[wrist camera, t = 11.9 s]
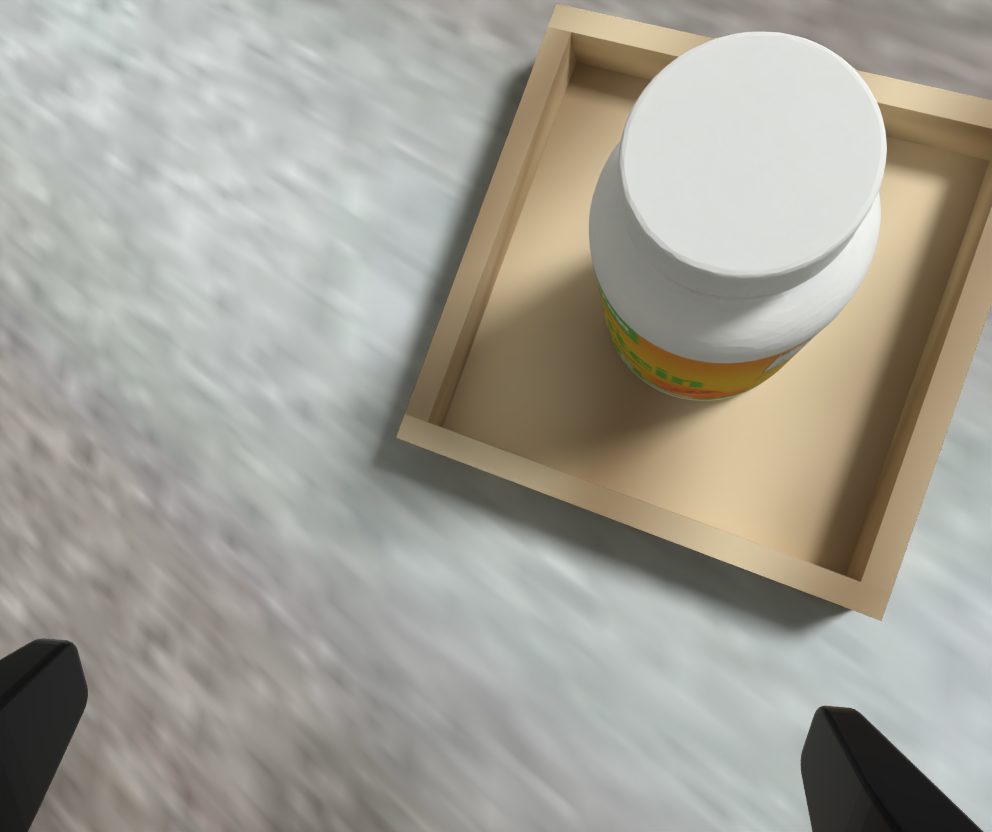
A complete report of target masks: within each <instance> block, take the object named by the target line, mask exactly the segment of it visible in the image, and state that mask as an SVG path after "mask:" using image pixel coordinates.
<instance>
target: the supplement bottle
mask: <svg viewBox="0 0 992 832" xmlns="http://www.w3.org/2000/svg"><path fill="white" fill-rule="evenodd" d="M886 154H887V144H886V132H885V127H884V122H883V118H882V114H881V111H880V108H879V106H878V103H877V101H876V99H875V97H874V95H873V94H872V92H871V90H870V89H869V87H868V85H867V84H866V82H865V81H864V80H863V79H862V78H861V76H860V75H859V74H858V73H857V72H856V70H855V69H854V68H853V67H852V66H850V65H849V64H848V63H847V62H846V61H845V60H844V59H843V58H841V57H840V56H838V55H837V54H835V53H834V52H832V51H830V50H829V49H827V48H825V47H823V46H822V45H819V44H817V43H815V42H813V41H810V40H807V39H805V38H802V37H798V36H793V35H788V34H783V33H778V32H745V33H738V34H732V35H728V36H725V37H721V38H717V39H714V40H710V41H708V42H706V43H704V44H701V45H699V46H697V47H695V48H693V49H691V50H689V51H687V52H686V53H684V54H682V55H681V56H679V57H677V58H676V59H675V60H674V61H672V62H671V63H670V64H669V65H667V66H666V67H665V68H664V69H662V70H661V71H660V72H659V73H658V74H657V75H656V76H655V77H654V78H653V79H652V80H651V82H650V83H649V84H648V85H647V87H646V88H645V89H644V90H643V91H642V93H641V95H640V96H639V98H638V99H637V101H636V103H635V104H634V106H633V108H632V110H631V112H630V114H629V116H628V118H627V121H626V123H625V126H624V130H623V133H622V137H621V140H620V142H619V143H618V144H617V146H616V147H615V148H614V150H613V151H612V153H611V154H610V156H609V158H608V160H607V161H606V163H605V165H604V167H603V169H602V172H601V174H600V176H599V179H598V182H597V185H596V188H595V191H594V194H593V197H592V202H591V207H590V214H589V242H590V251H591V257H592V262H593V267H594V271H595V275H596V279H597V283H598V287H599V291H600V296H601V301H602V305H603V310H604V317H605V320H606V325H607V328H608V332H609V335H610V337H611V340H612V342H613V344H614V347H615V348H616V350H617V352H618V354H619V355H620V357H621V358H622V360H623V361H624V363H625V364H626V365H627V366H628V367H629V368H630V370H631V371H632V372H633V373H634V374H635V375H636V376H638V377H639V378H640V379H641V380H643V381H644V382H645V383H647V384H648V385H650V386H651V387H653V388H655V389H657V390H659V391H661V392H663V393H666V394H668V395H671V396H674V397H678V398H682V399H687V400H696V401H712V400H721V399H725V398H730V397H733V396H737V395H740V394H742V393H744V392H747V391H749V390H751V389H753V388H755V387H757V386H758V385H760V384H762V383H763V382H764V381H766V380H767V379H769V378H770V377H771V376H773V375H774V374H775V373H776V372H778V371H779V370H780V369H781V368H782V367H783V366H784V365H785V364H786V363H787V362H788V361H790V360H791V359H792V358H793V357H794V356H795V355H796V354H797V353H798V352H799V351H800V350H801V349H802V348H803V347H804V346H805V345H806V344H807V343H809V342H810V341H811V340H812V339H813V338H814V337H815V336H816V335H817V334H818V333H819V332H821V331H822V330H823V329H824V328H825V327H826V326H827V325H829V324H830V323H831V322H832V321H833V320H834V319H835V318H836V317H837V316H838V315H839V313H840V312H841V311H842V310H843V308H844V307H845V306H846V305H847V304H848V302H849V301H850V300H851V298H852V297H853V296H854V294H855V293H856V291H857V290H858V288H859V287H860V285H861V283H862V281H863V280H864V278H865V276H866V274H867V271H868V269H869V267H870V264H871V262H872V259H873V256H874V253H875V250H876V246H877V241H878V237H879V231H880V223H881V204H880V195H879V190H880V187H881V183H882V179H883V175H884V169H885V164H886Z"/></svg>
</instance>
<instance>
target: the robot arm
mask: <svg viewBox="0 0 992 832" xmlns="http://www.w3.org/2000/svg"><path fill="white" fill-rule="evenodd" d="M87 698H88V688H87V684H86V680H85V676H84V672H83V669H82V665H81V661H80V657H79V654H78V650H77V647H76V646H75V645H74V644H73V643H72V642H70V641H68V640H56V639H44V638H43V639H37V640H34V641H32V642H30V643H28V644H27V645H25V646H23V647H21V648H20V649H18V650H16V651H14V652H13V653H11V654H9V655H8V656H6V657H4V658H2V659H1V660H0V832H28V830H29V828H30V826H31V824H32V822H33V820H34V818H35V816H36V814H37V812H38V810H39V808H40V806H41V803H42V801H43V799H44V797H45V795H46V792H47V790H48V788H49V786H50V784H51V782H52V779H53V777H54V775H55V773H56V771H57V768H58V766H59V764H60V762H61V760H62V758H63V755H64V753H65V751H66V749H67V747H68V745H69V742H70V740H71V738H72V736H73V734H74V731H75V729H76V727H77V725H78V723H79V721H80V718H81V716H82V714H83V712H84V709H85V707H86V703H87ZM801 774H802V779H803V784H804V790H805V795H806V800H807V805H808V811H809V816H810V821H811V826H812V831H813V832H983V831H982V830H981V829H980V828H979V827H978V826H977V825H976V824H975V823H974V822H973V821H972V820H971V819H970V818H969V817H968V816H967V815H966V814H965V813H964V812H963V811H962V810H960V809H959V808H958V807H957V806H956V805H955V804H954V803H953V802H952V801H951V800H950V799H949V798H948V797H947V796H946V795H945V794H944V793H943V792H942V791H941V790H940V789H939V788H938V787H937V786H936V785H935V784H934V783H932V782H931V781H930V780H929V779H928V778H927V777H926V776H925V775H924V774H923V773H922V772H921V771H920V770H919V769H918V768H917V767H916V766H915V765H914V764H913V763H912V762H911V761H910V760H909V759H908V758H907V757H906V756H904V755H903V754H902V753H901V752H900V751H899V750H898V749H897V748H896V747H895V746H894V745H893V744H892V743H891V742H890V741H889V740H888V739H887V738H886V737H885V736H884V735H883V734H882V733H881V732H880V731H879V730H878V729H877V728H875V727H874V726H873V725H872V724H871V723H870V722H869V721H868V720H867V719H866V718H865V717H864V716H863V715H862V714H861V713H860V712H858V711H856V710H855V709H852V708H845V707H833V706H821V707H819V708H818V709H817V710H816V712H815V714H814V717H813V720H812V723H811V726H810V729H809V732H808V735H807V738H806V741H805V744H804V747H803V750H802V754H801Z"/></svg>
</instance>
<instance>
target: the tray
mask: <svg viewBox="0 0 992 832" xmlns="http://www.w3.org/2000/svg"><path fill="white" fill-rule="evenodd" d="M710 40H714V39H713V38H709V37H704V36H700V35H695V34H691V33H686V32H682V31H677V30H673V29H668V28H664V27H659V26H655V25H650V24H646V23H641V22H637V21H632V20H628V19H623V18H619V17H614V16H610V15H605V14H601V13H596V12H592V11H587V10H583V9H578V8H574V7H569V6H565V5H560V4H556V7H555V9H554V12H553V15H552V17H551V20H550V23H549V25H548V28H547V31H546V34H545V36H544V39H543V42H542V44H541V47H540V50H539V53H538V55H537V58H536V61H535V63H534V66H533V69H532V71H531V74H530V77H529V80H528V82H527V85H526V88H525V90H524V93H523V96H522V98H521V101H520V104H519V107H518V109H517V112H516V115H515V117H514V120H513V123H512V125H511V128H510V131H509V134H508V136H507V139H506V142H505V144H504V147H503V150H502V153H501V155H500V158H499V161H498V163H497V166H496V169H495V171H494V174H493V177H492V180H491V182H490V185H489V188H488V190H487V193H486V196H485V198H484V201H483V204H482V207H481V209H480V212H479V215H478V217H477V220H476V223H475V225H474V228H473V231H472V234H471V236H470V239H469V242H468V244H467V247H466V250H465V253H464V255H463V258H462V261H461V263H460V266H459V269H458V271H457V274H456V277H455V280H454V282H453V285H452V288H451V290H450V293H449V296H448V298H447V301H446V304H445V307H444V309H443V312H442V315H441V317H440V320H439V323H438V325H437V328H436V331H435V334H434V336H433V339H432V342H431V344H430V347H429V350H428V353H427V355H426V358H425V361H424V363H423V366H422V369H421V371H420V374H419V377H418V380H417V382H416V385H415V388H414V390H413V393H412V396H411V398H410V401H409V404H408V407H407V409H406V412H405V415H404V417H403V420H402V423H401V425H400V428H399V431H398V434H397V436H396V438H398V439H401V440H403V441H406V442H409V443H411V444H414V445H417V446H419V447H422V448H425V449H427V450H430V451H433V452H435V453H438V454H440V455H443V456H446V457H448V458H451V459H454V460H456V461H459V462H462V463H464V464H467V465H470V466H472V467H475V468H478V469H480V470H483V471H486V472H488V473H491V474H493V475H496V476H499V477H501V478H504V479H507V480H509V481H512V482H515V483H517V484H520V485H523V486H525V487H528V488H531V489H533V490H536V491H539V492H541V493H544V494H546V495H549V496H552V497H554V498H557V499H560V500H562V501H565V502H568V503H570V504H573V505H576V506H578V507H581V508H584V509H586V510H589V511H592V512H594V513H597V514H599V515H602V516H605V517H607V518H610V519H613V520H615V521H618V522H621V523H623V524H626V525H629V526H631V527H634V528H637V529H639V530H642V531H644V532H647V533H650V534H652V535H655V536H658V537H660V538H663V539H666V540H668V541H671V542H674V543H676V544H679V545H682V546H684V547H687V548H690V549H692V550H695V551H697V552H700V553H703V554H705V555H708V556H711V557H713V558H716V559H719V560H721V561H724V562H727V563H729V564H732V565H735V566H737V567H740V568H743V569H745V570H748V571H750V572H753V573H756V574H758V575H761V576H764V577H766V578H769V579H772V580H774V581H777V582H780V583H782V584H785V585H788V586H790V587H793V588H796V589H798V590H801V591H803V592H806V593H809V594H811V595H814V596H817V597H819V598H822V599H825V600H827V601H830V602H833V603H835V604H838V605H841V606H843V607H846V608H849V609H851V610H854V611H856V612H859V613H862V614H864V615H867V616H870V617H872V618H875V619H878V620H880V621H882V618H883V615H884V612H885V609H886V606H887V603H888V601H889V598H890V595H891V592H892V589H893V586H894V583H895V580H896V577H897V575H898V572H899V569H900V566H901V563H902V560H903V557H904V554H905V552H906V549H907V546H908V543H909V540H910V537H911V534H912V531H913V528H914V526H915V523H916V520H917V517H918V514H919V511H920V508H921V505H922V502H923V500H924V497H925V494H926V491H927V488H928V485H929V482H930V479H931V477H932V474H933V471H934V468H935V465H936V462H937V459H938V456H939V453H940V451H941V448H942V445H943V442H944V439H945V436H946V433H947V430H948V427H949V425H950V422H951V419H952V416H953V413H954V410H955V407H956V404H957V402H958V399H959V396H960V393H961V390H962V387H963V384H964V381H965V378H966V376H967V373H968V370H969V367H970V364H971V361H972V358H973V355H974V352H975V350H976V347H977V344H978V341H979V338H980V335H981V332H982V329H983V327H984V324H985V321H986V318H987V315H988V312H989V309H990V306H991V303H992V100H988V99H984V98H979V97H975V96H970V95H966V94H961V93H957V92H952V91H948V90H943V89H939V88H934V87H930V86H925V85H921V84H916V83H912V82H907V81H903V80H898V79H894V78H889V77H885V76H880V75H876V74H871V73H867V72H862V71H858V70H856V72H857V73H858V74H859V75H860V76H861V78H862V79H863V80H864V81H865V82H866V84H867V85H868V87H869V89H870V90H871V92H872V94H873V95H874V97H875V99H876V101H877V103H878V106H879V108H880V111H881V114H882V118H883V122H884V127H885V132H886V144H887V154H886V164H885V169H884V175H883V179H882V183H881V187H880V190H879V195H880V204H881V223H880V231H879V237H878V241H877V246H876V250H875V253H874V256H873V259H872V262H871V264H870V267H869V269H868V271H867V274H866V276H865V278H864V280H863V281H862V283H861V285H860V287H859V288H858V290H857V291H856V293H855V294H854V296H853V297H852V298H851V300H850V301H849V302H848V304H847V305H846V306H845V307H844V308H843V310H842V311H841V312H840V313H839V315H838V316H837V317H836V318H835V319H834V320H833V321H832V322H831V323H830V324H829V325H827V326H826V327H825V328H824V329H823V330H822V331H821V332H819V333H818V334H817V335H816V336H815V337H814V338H813V339H812V340H811V341H810V342H809V343H807V344H806V345H805V346H804V347H803V348H802V349H801V350H800V351H799V352H798V353H797V354H796V355H795V356H794V357H793V358H792V359H791V360H790V361H788V362H787V363H786V364H785V365H784V366H783V367H782V368H781V369H780V370H779V371H778V372H776V373H775V374H774V375H773V376H771V377H770V378H769V379H767V380H766V381H764V382H763V383H762V384H760V385H758V386H757V387H755V388H753V389H751V390H749V391H747V392H744V393H742V394H740V395H737V396H733V397H730V398H725V399H721V400H712V401H696V400H687V399H682V398H678V397H674V396H671V395H668V394H666V393H663V392H661V391H659V390H657V389H655V388H653V387H651V386H650V385H648V384H647V383H645V382H644V381H643V380H641V379H640V378H639V377H638V376H636V375H635V374H634V373H633V372H632V371H631V370H630V368H629V367H628V366H627V365H626V364H625V363H624V361H623V360H622V358H621V357H620V355H619V354H618V352H617V350H616V348H615V347H614V344H613V342H612V340H611V337H610V335H609V332H608V328H607V325H606V320H605V317H604V310H603V305H602V301H601V296H600V291H599V287H598V283H597V279H596V275H595V271H594V267H593V262H592V257H591V251H590V242H589V214H590V207H591V202H592V197H593V194H594V191H595V188H596V185H597V182H598V179H599V176H600V174H601V172H602V169H603V167H604V165H605V163H606V161H607V160H608V158H609V156H610V154H611V153H612V151H613V150H614V148H615V147H616V146H617V144H618V143H619V142H620V140H621V137H622V133H623V130H624V126H625V123H626V121H627V118H628V116H629V114H630V112H631V110H632V108H633V106H634V104H635V103H636V101H637V99H638V98H639V96H640V95H641V93H642V91H643V90H644V89H645V88H646V87H647V85H648V84H649V83H650V82H651V80H652V79H653V78H654V77H655V76H656V75H657V74H658V73H659V72H660V71H661V70H662V69H664V68H665V67H666V66H667V65H669V64H670V63H671V62H672V61H674V60H675V59H676V58H677V57H679V56H681V55H682V54H684V53H686V52H687V51H689V50H691V49H693V48H695V47H697V46H699V45H701V44H704V43H706V42H708V41H710Z"/></svg>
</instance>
